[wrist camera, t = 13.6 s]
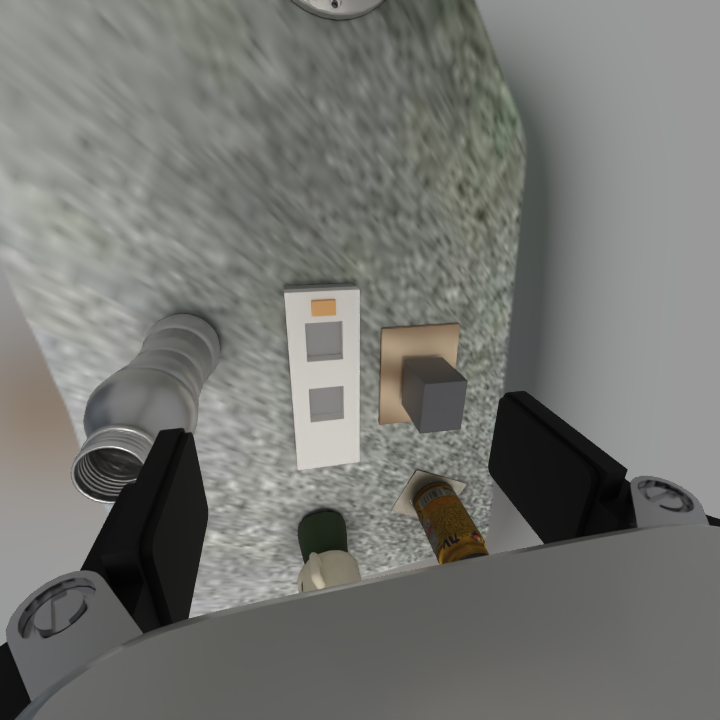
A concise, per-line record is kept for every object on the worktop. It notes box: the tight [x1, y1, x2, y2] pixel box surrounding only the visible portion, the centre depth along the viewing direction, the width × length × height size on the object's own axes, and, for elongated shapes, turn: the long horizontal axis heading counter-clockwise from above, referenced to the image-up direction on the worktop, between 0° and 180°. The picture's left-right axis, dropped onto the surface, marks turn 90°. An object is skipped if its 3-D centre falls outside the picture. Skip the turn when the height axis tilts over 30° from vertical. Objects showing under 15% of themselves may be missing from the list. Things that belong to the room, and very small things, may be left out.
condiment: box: [391, 470, 489, 564], centre depth 47 cm, size 7×8×12 cm
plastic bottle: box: [71, 314, 220, 504], centre depth 28 cm, size 6×7×20 cm
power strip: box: [283, 283, 360, 470], centre depth 40 cm, size 20×7×4 cm, turn 0°
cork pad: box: [379, 323, 460, 425], centre depth 44 cm, size 12×9×1 cm
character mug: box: [297, 512, 361, 593], centre depth 44 cm, size 11×7×13 cm, turn 20°
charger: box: [401, 357, 468, 434], centre depth 40 cm, size 6×4×7 cm
